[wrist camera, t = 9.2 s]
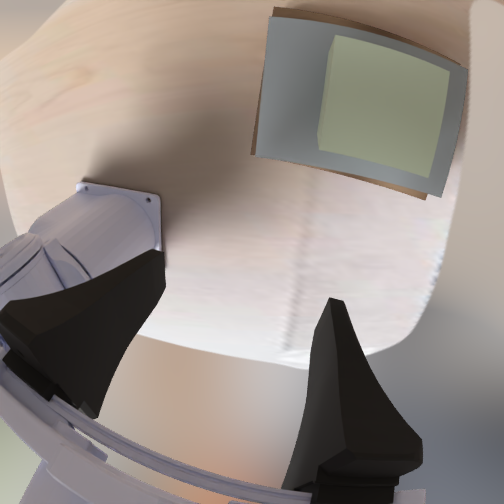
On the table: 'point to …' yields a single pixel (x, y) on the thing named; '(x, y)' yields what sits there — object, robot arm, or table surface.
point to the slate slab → (311, 93)
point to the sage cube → (381, 105)
